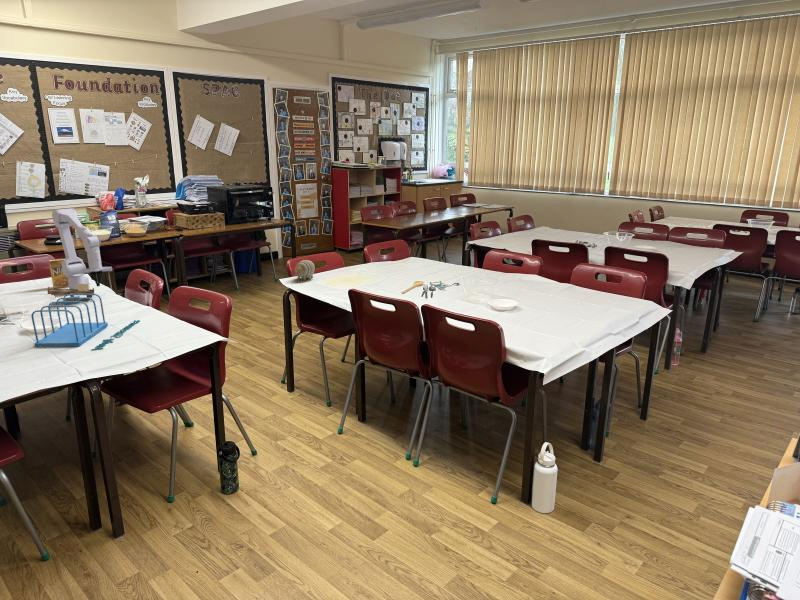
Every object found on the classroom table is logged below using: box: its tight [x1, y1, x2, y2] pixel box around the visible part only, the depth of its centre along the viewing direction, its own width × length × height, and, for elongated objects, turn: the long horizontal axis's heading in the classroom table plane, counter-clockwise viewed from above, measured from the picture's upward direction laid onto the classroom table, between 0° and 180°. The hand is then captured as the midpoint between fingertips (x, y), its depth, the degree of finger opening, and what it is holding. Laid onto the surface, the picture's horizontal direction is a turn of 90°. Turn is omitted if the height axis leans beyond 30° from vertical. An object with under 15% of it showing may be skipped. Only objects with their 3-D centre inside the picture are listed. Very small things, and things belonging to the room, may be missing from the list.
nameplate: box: [90, 319, 141, 352], centre depth 236 cm, size 37×1×5 cm
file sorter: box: [30, 293, 109, 348], centre depth 232 cm, size 25×17×15 cm
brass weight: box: [78, 284, 88, 292], centre depth 284 cm, size 4×4×4 cm
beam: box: [47, 286, 95, 299], centre depth 282 cm, size 20×6×4 cm, turn 119°
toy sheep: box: [294, 259, 316, 281], centre depth 329 cm, size 11×17×11 cm, turn 160°
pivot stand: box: [65, 292, 81, 305], centre depth 282 cm, size 6×11×5 cm, turn 29°
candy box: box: [48, 258, 69, 289], centre depth 308 cm, size 9×4×15 cm, turn 118°
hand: (98, 285), depth 287 cm, fingers closed
